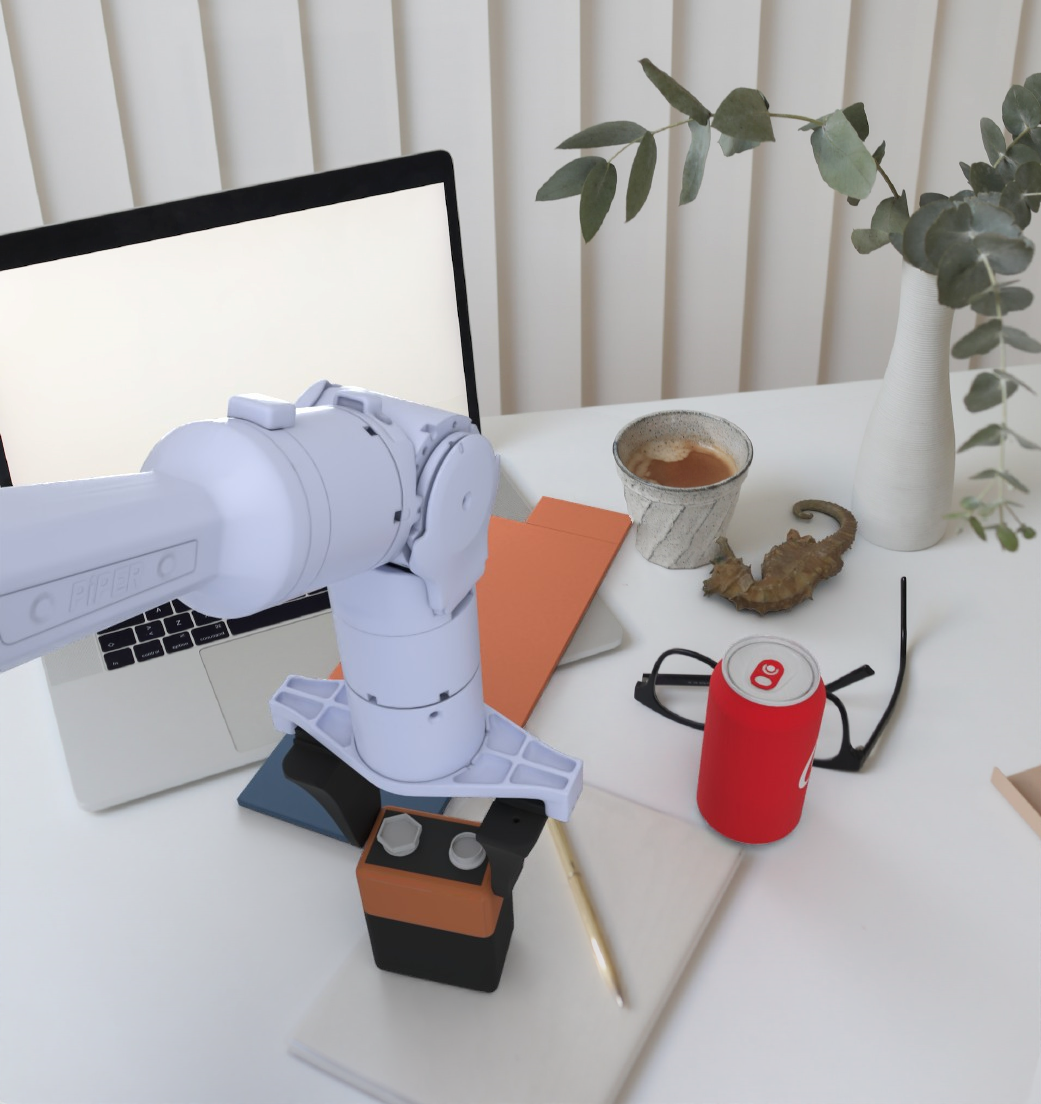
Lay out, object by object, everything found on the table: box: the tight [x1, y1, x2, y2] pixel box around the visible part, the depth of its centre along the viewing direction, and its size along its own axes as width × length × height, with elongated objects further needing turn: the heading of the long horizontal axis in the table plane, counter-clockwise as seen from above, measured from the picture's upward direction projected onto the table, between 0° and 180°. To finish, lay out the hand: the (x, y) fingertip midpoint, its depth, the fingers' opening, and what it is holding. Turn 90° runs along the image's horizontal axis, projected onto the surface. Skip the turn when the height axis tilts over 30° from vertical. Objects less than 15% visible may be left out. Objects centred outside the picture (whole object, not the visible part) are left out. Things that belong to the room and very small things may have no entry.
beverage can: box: [696, 634, 827, 845], centre depth 61 cm, size 6×6×12 cm
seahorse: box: [702, 499, 859, 618], centre depth 81 cm, size 9×16×3 cm, turn 126°
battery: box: [354, 806, 515, 994], centre depth 55 cm, size 4×7×10 cm, turn 76°
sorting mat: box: [236, 495, 633, 849], centre depth 76 cm, size 36×14×1 cm, turn 158°
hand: (435, 855), depth 53 cm, fingers closed on battery, 7 cm apart
